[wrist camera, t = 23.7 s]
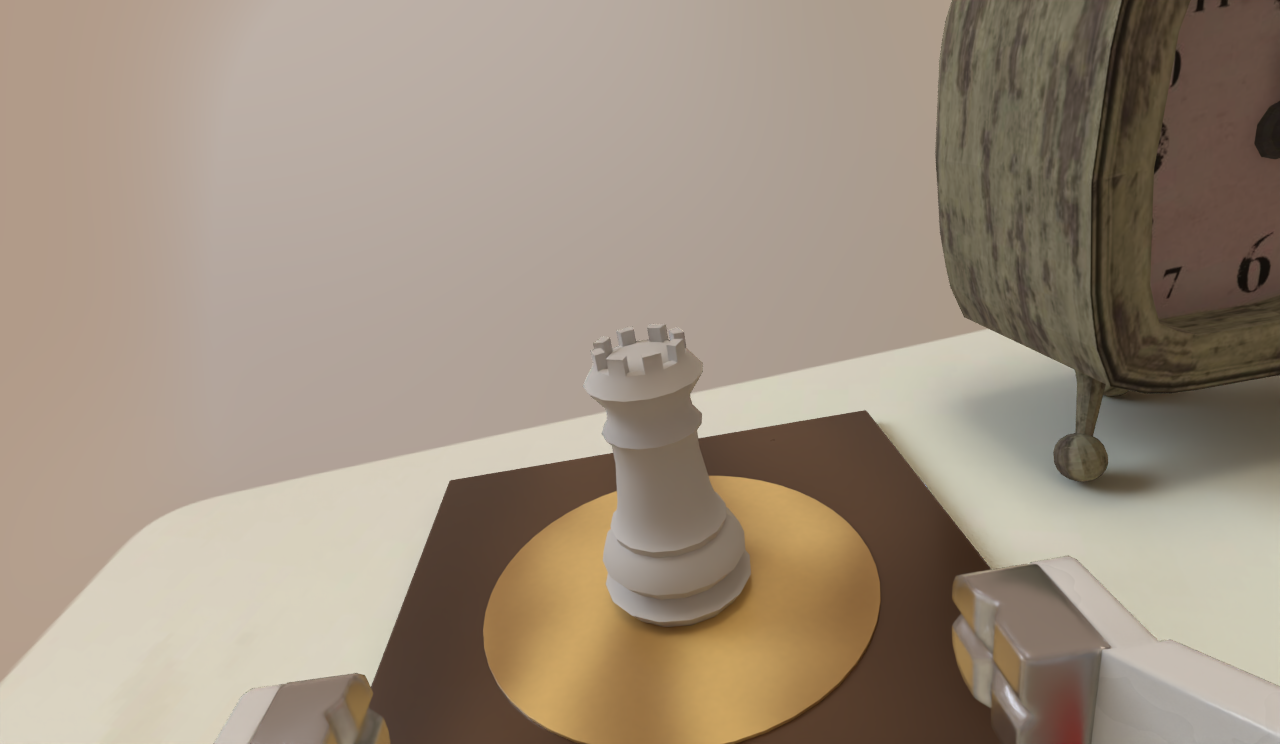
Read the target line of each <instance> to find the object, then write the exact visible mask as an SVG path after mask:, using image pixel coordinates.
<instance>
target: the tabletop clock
mask: <svg viewBox="0 0 1280 744" xmlns="http://www.w3.org/2000/svg"><path fill="white" fill-rule="evenodd" d="M936 130H937V131H936V170H937V186H938V203H939V223H940V235H941V240H942V247H943V253H944V258H945V263H946V268H947V273H948V278H949V282H950V286H951V289H952V291H953V294H954V295H955V298H956V300H957V302H958V305H959V307H960V309H961V311H962V313H963V315H964V317H965V318H967V319H970V320H972V321H974V322H976V323H978V324H980V325H982V326H984V327H986V328H988V329H991V330H993V331H995V332H997V333H999V334H1001V335H1003V336H1005V337H1007V338H1010V339H1012V340H1014V341H1016V342H1018V343H1020V344H1022V345H1024V346H1026V347H1029V348H1031V349H1033V350H1035V351H1037V352H1039V353H1041V354H1043V355H1045V356H1048V357H1050V358H1052V359H1054V360H1056V361H1058V362H1060V363H1062V364H1064V365H1067V366H1069V367H1071V368H1073V369H1075V372H1076V378H1077V405H1076V433H1074V434H1069V435H1066V436H1065V437H1063V438H1061V439H1060V440H1059V441H1058V443H1057V444H1056V445H1055V449H1054V463H1055V465H1056V467H1057V469H1058V470H1059V472H1060V473H1061V474H1062V475H1063V476H1065V477H1067V478H1068V479H1071V480H1075V481H1080V482H1084V481H1091V480H1094V479H1096V478H1097V477H1099V476H1101V475H1102V474H1103V473H1104V471H1105V470H1106V468H1107V465H1108V455H1107V452H1106V450H1105V448H1104V445H1103V444H1102V443H1101V442H1100V441H1099V440H1098V439H1097V438H1095V437H1093V433H1094V429H1095V425H1096V421H1097V417H1098V413H1099V409H1100V405H1101V401H1102V397H1103V395H1107V396H1115V395H1121V394H1124V393H1126V392H1128V391H1129V390H1131V391H1137V392H1142V393H1176V392H1183V391H1191V390H1197V389H1203V388H1209V387H1214V386H1220V385H1226V384H1231V383H1237V382H1243V381H1248V380H1254V379H1260V378H1265V377H1271V376H1276V375H1280V0H952V2H951V5H950V8H949V11H948V15H947V18H946V22H945V27H944V33H943V39H942V46H941V53H940V60H939V82H938V106H937V128H936Z"/></svg>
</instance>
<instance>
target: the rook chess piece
mask: <svg viewBox="0 0 1280 744" xmlns="http://www.w3.org/2000/svg"><path fill="white" fill-rule="evenodd" d="M647 329H648V335H649V340H642V341H636V339H635V334H634V329H633V326H632V327H628V328H624V329H620V330H616V333H617V338H618V343H619V346H617V347H615V348H613V349H612V346H611V340H610V337H601V338H599V339H598V340H597V341H595V342H594V343H593V345H594V349H593V350H590V351H591V356H592V361H593V366H592V368H591V370H590V371H589V373H588V375H587V378H586V380H585V383H584V385H583V386H584V388H585V390H586V391H587V393H588V394H589V395H590V396H591V397H592V398H593V399H595V400H596V401H597V402H598V403H600V404H601V405H602V406H603V407H604V408H605V409H606V412H607V421H606V422H605V424H604V427H603V431H602V435H603V436H604V438H605V440H606V441H607V442H608V443H609V444H611V445H612V449H613V454H614V459H615V463H616V483H617V510H616V511H615V512H614V513H613V517H612V522H611V526H610V527H611V529H610V530H609V531H608V533H607V537H606V542H605V546H604V553H603V562H604V564H605V567H606V569H607V571H608V575H607V580H606V586H607V588H608V591H609V593H610V595H611V598H612V600H613V602H614V603H615V604H617V605H618V606H620V607H621V608H622V609H624V610H625V611H626V612H628V613H629V614H630V615H632V616H634V617H635V618H637V619H639V620H640V621H642V622H646V623H650V624H654V625H658V626H662V627H674V626H690V625H693V624H696V623H699V622H702V621H704V620H707V619H710V618H713V617H715V616H716V615H718V614H719V613H720V612H721V611H723V610H724V609H725V608H727V607H728V606H729V605H730V604H732V603H733V602H734V601H735V599H736V598H737V597H738V596H739V594H740V593H741V591H742V590H743V588H744V586H745V584H746V582H747V580H748V578H749V576H750V575H751V567H750V555H749V554H748V552H747V551H746V550H745V536H744V530H743V528H742V526H741V524H740V522H739V521H738V519H737V518H736V517H735V516H734V515H733V513H732V512H731V511H730V510H729V508H727V507H726V503H725V502H724V501H723V500H722V498H721V497H720V496H719V495H718V493H717V492H715V491H714V489H713V487H712V485H711V483H710V479H709V476H708V473H707V470H706V467H705V463H704V460H703V457H702V454H701V451H700V447H699V441H698V434H697V429H698V428H699V426H700V425H701V423H702V413H701V412H700V411H699V410H698V409H697V408H696V407H695V406H694V405H692V402H691V398H690V393H691V391H692V390H693V388H694V386H695V384H696V383H697V381H698V379H699V377H700V376H701V374H702V372H703V363H702V362H701V361H700V360H699V359H698V358H697V357H696V356H695V355H694V354H692V353H691V352H690V351H689V350H688V349H687V348H686V343H685V336H684V332H683V331H682V330H681V329H679V328H678V327H676V328H674V329H671V330H669V336H670V340H668V336H667V329H666V325H665V324H650V325H649V326H648V327H647Z"/></svg>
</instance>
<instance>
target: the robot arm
mask: <svg viewBox="0 0 1280 744" xmlns="http://www.w3.org/2000/svg"><path fill="white" fill-rule="evenodd" d="M952 600H953V601H954V603H955V604H956V606H957V607H958V609H959V610H960V612H961V614H960V616H959V617H958V618H957V619H956V621H955V622H954V623H953V625H952V641H953V649H954V653H955V657H956V661H957V665H958V668H959V670H960V672H961V675H962V677H963V679H964V682H965V683H966V685H967V687H968V689H969V690H970V692H971V694H972V696H973V697H974V698H975V699H977V700H978V701H980V702H982V703H983V704H985V705H987V706H988V707H990V708H991V727H992V729H993V731H994V732H995V734H996V736H997V737H998V739H999V741H1000V742H1001V744H1280V686H1278V685H1276V684H1273V683H1271V682H1269V681H1266V680H1264V679H1262V678H1259V677H1257V676H1255V675H1252V674H1250V673H1248V672H1245V671H1243V670H1241V669H1238V668H1236V667H1234V666H1231V665H1229V664H1227V663H1225V662H1222V661H1220V660H1218V659H1215V658H1213V657H1211V656H1208V655H1206V654H1204V653H1201V652H1199V651H1197V650H1194V649H1192V648H1190V647H1187V646H1185V645H1183V644H1180V643H1178V642H1176V641H1173V640H1164V641H1158V640H1157V639H1156V638H1155V637H1154V636H1153V635H1152V634H1151V633H1150V632H1149V631H1148V630H1147V629H1146V628H1145V627H1144V626H1143V625H1142V624H1141V623H1140V622H1139V621H1138V620H1137V619H1136V618H1135V617H1134V616H1133V615H1132V614H1131V613H1130V612H1129V611H1128V610H1127V609H1126V608H1125V607H1124V606H1123V605H1122V604H1121V603H1120V602H1119V601H1118V600H1117V599H1116V598H1115V597H1114V596H1113V595H1112V594H1111V593H1110V592H1109V591H1108V590H1107V589H1106V588H1105V587H1104V586H1103V585H1102V584H1101V583H1100V582H1099V581H1098V580H1097V579H1096V578H1095V577H1094V576H1093V575H1092V574H1091V573H1090V572H1089V571H1088V570H1087V569H1086V568H1085V567H1084V566H1083V565H1082V564H1081V563H1080V562H1079V561H1078V560H1077V559H1075V558H1072V557H1070V556H1063V557H1057V558H1052V559H1046V560H1040V561H1035V562H1031V563H1029V564H1021V565H1015V566H1009V567H1003V568H998V569H992V570H986V571H980V572H974V573H968V574H962V575H957V576H956V577H955V579H954V582H953V589H952ZM372 696H373V691H372V689H371V687H370V685H369V683H368V681H367V679H366V676H365V675H361V674H358V673H355V674H347V675H340V676H333V677H326V678H318V679H311V680H304V681H296V682H289V683H287V684H281V685H273V686H266V687H258V688H252V689H250V690H249V691H248V692H246V693H245V694H243V695H242V696H241V697H240V699H239V701H238V702H237V704H236V706H235V707H234V709H233V711H232V713H231V714H230V716H229V718H228V719H227V721H226V723H225V724H224V726H223V728H222V729H221V731H220V733H219V735H218V736H217V738H216V740H215V741H214V743H213V744H391V743H390V737H389V731H388V728H387V726H386V723H385V720H384V718H383V717H382V716H381V715H379V714H378V713H376V712H374V711H373V710H371V709H370V708H368V707H369V704H370V701H371V698H372Z"/></svg>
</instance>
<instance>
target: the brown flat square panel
mask: <svg viewBox="0 0 1280 744" xmlns="http://www.w3.org/2000/svg"><path fill="white" fill-rule="evenodd" d="M698 441H699V447H700V451H701V454H702V457H703V460H704V463H705V467H706V470H707V473H708V476H709V479H710V483H711V485H712V487H713V489H714V491H715V492H717V493H718V495H719V496H720V497H721V498H722V500H723V501H724V502H725V503H726V507H727V508H729V510H730V511H731V512H732V513H733V515H734V516H735V517H736V518H737V519H738V521H739V522H740V524H741V526H742V528H743V530H744V536H745V550H746V551H747V552H748V554H749V555H750V567H751V575H750V576H749V578H748V580H747V582H746V584H745V586H744V588H743V590H742V591H741V593H740V594H739V596H738V597H737V598H736V599H735V601H734V602H733V603H732V604H730V605H729V606H728V607H727V608H725V609H724V610H723V611H721V612H720V613H719V614H718V615H716V616H715V617H713V618H710V619H707V620H704V621H702V622H699V623H696V624H693V625H690V626H674V627H662V626H658V625H654V624H650V623H646V622H642V621H640V620H639V619H637V618H635V617H634V616H632V615H630V614H629V613H628V612H626V611H625V610H624V609H622V608H621V607H620V606H618V605H617V604H615V603H614V602H613V600H612V598H611V595H610V593H609V591H608V588H607V586H606V580H607V575H608V571H607V569H606V567H605V564H604V562H603V553H604V546H605V542H606V537H607V533H608V531H609V530H610V529H611V527H610V526H611V522H612V517H613V513H614V512H615V511H616V510H617V483H616V463H615V459H614V454H613V453H610V454H604V455H598V456H592V457H586V458H581V459H575V460H569V461H563V462H557V463H551V464H545V465H539V466H533V467H527V468H521V469H516V470H510V471H504V472H498V473H492V474H486V475H480V476H474V477H468V478H462V479H456V480H451V481H450V482H449V484H448V487H447V489H446V492H445V495H444V497H443V500H442V503H441V505H440V508H439V510H438V513H437V516H436V518H435V521H434V523H433V526H432V529H431V531H430V534H429V537H428V539H427V542H426V544H425V547H424V550H423V552H422V555H421V558H420V560H419V563H418V565H417V568H416V571H415V573H414V576H413V578H412V581H411V584H410V586H409V589H408V592H407V594H406V597H405V599H404V602H403V605H402V607H401V610H400V613H399V615H398V618H397V620H396V623H395V626H394V628H393V631H392V633H391V636H390V639H389V641H388V644H387V647H386V649H385V652H384V654H383V657H382V660H381V662H380V665H379V668H378V670H377V673H376V675H375V678H374V681H373V683H372V686H371V689H372V691H373V696H372V698H371V701H370V704H369V707H368V708H370V709H371V710H373V711H374V712H376V713H378V714H379V715H381V716H382V717H383V718H384V720H385V723H386V726H387V728H388V731H389V737H390V743H391V744H1001V742H1000V741H999V739H998V737H997V736H996V734H995V732H994V731H993V729H992V727H991V708H990V707H988V706H987V705H985V704H983V703H982V702H980V701H978V700H977V699H975V698H974V697H973V696H972V694H971V692H970V690H969V689H968V687H967V685H966V683H965V682H964V679H963V677H962V675H961V672H960V670H959V668H958V665H957V661H956V657H955V653H954V649H953V641H952V625H953V623H954V622H955V621H956V619H957V618H958V617H959V616H960V614H961V612H960V610H959V609H958V607H957V606H956V604H955V603H954V601H953V600H952V589H953V582H954V579H955V577H956V576H957V575H962V574H968V573H974V572H980V571H986V570H992V569H991V568H990V567H989V566H988V564H987V563H986V562H985V561H984V559H983V558H982V557H981V556H980V554H979V553H978V552H977V550H976V549H975V548H974V547H973V545H972V544H971V543H970V542H969V540H968V539H967V538H966V536H965V535H964V534H963V533H962V531H961V530H960V529H959V528H958V526H957V525H956V524H955V523H954V521H953V520H952V519H951V517H950V516H949V515H948V514H947V512H946V511H945V510H944V509H943V507H942V506H941V505H940V504H939V502H938V501H937V500H936V498H935V497H934V496H933V495H932V493H931V492H930V491H929V490H928V488H927V487H926V486H925V484H924V483H923V482H922V481H921V479H920V478H919V477H918V476H917V474H916V473H915V472H914V471H913V469H912V468H911V467H910V465H909V464H908V463H907V462H906V460H905V459H904V458H903V457H902V455H901V454H900V453H899V452H898V450H897V449H896V448H895V446H894V445H893V444H892V443H891V441H890V440H889V439H888V438H887V436H886V435H885V434H884V432H883V431H882V430H881V429H880V427H879V426H878V425H877V424H876V422H875V421H874V420H873V419H872V417H871V416H870V415H869V413H868V412H867V411H866V410H864V411H858V412H852V413H846V414H840V415H835V416H829V417H823V418H817V419H811V420H805V421H799V422H793V423H787V424H781V425H775V426H770V427H764V428H758V429H752V430H746V431H740V432H734V433H728V434H722V435H716V436H710V437H705V438H699V439H698Z"/></svg>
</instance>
